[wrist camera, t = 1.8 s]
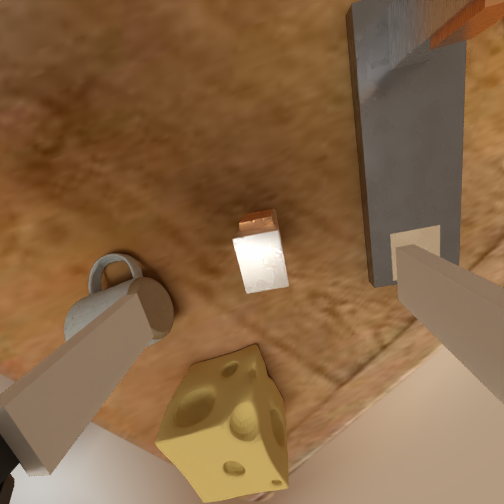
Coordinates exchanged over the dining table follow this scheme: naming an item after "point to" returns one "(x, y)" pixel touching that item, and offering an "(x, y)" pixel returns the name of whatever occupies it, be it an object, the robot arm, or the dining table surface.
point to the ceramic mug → (99, 300)
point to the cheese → (227, 428)
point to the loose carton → (261, 252)
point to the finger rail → (411, 121)
